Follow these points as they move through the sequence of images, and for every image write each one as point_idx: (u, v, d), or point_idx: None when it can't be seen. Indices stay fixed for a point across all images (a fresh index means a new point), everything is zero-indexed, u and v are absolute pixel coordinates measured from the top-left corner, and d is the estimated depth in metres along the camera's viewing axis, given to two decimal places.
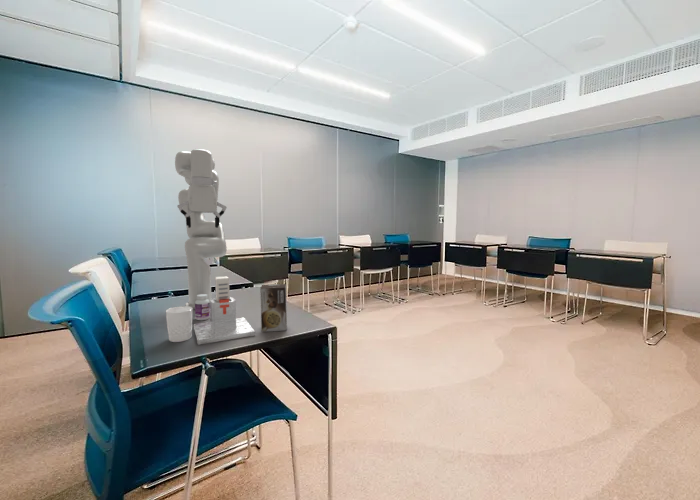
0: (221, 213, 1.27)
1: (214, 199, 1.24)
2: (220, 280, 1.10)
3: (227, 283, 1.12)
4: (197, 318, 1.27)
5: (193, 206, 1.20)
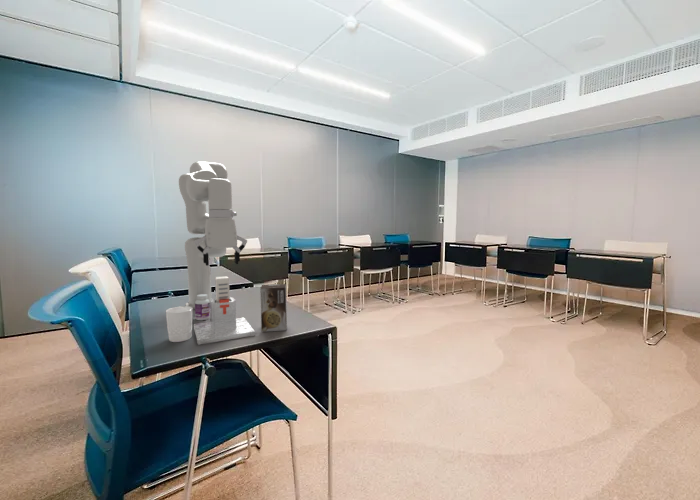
0: (241, 247, 1.14)
1: (234, 233, 1.11)
2: (220, 280, 1.10)
3: (227, 283, 1.12)
4: (197, 318, 1.27)
5: (211, 242, 1.08)
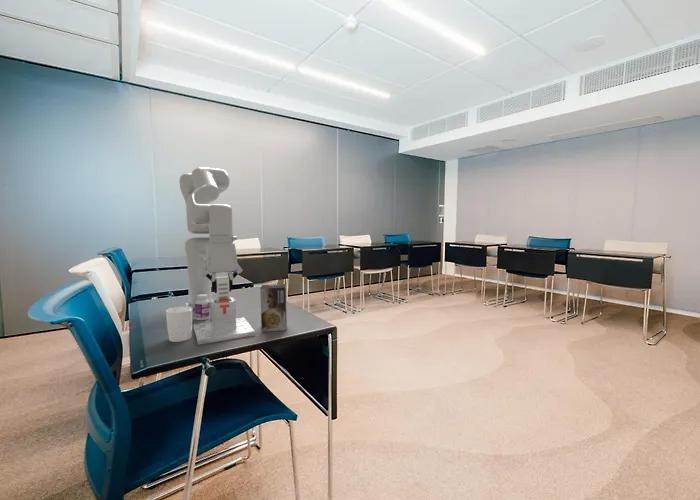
0: (234, 275, 1.14)
1: (234, 257, 1.12)
2: (220, 280, 1.10)
3: (227, 283, 1.12)
4: (197, 318, 1.27)
5: (212, 267, 1.09)
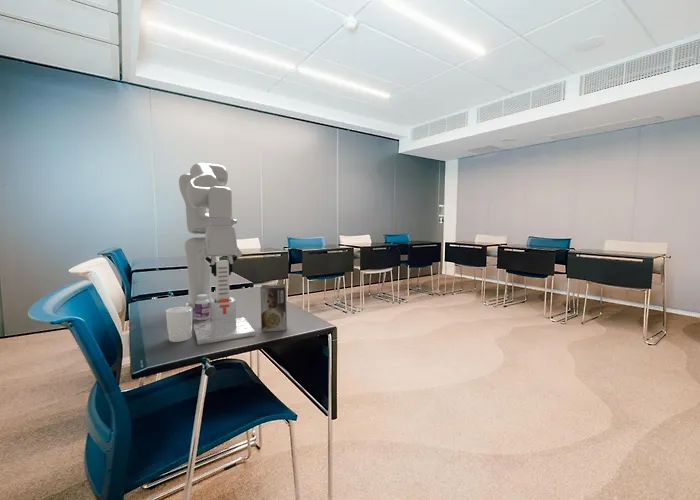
0: (234, 259, 1.13)
1: (234, 241, 1.12)
2: (220, 263, 1.10)
3: (227, 266, 1.11)
4: (197, 318, 1.27)
5: (211, 250, 1.08)
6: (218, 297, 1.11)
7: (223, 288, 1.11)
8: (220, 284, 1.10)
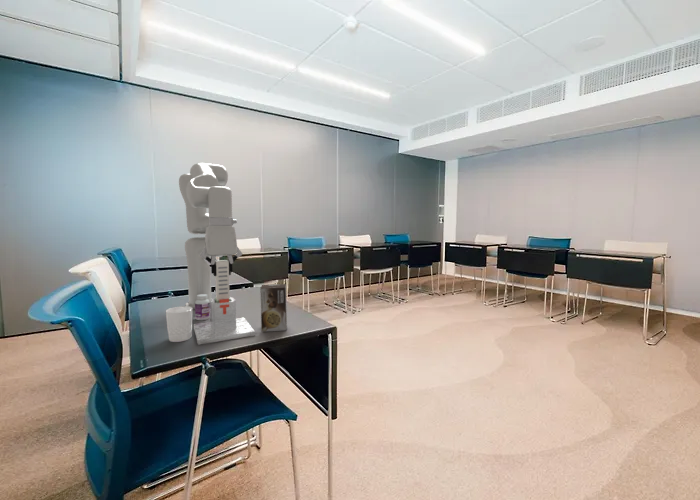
0: (234, 258, 1.13)
1: (234, 240, 1.12)
2: (220, 263, 1.10)
3: (227, 266, 1.11)
4: (197, 318, 1.27)
5: (211, 249, 1.08)
6: (218, 297, 1.11)
7: (223, 288, 1.11)
8: (220, 284, 1.10)
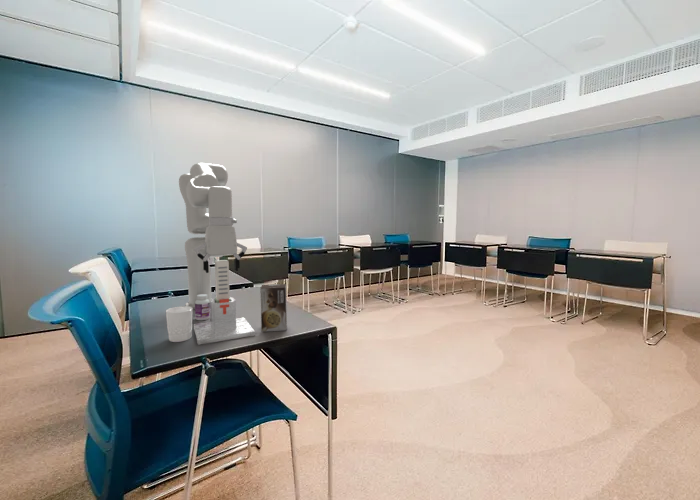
0: (241, 255, 1.14)
1: (234, 240, 1.12)
2: (220, 263, 1.10)
3: (227, 266, 1.11)
4: (197, 318, 1.27)
5: (211, 249, 1.08)
6: (218, 297, 1.11)
7: (223, 288, 1.11)
8: (220, 284, 1.10)
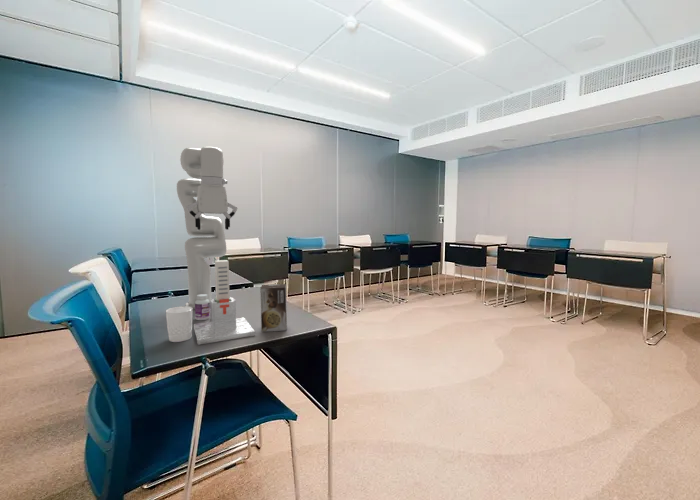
0: (232, 214, 1.21)
1: (225, 200, 1.18)
2: (220, 263, 1.10)
3: (227, 266, 1.11)
4: (197, 318, 1.27)
5: (203, 207, 1.14)
6: (218, 297, 1.11)
7: (223, 288, 1.11)
8: (220, 284, 1.10)
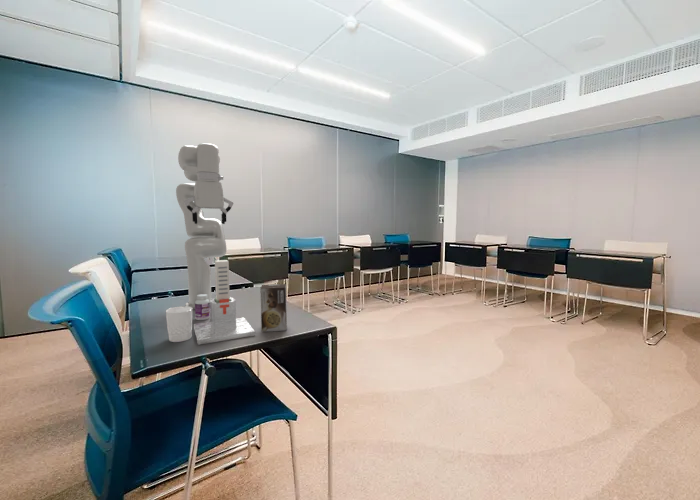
0: (228, 209, 1.24)
1: (221, 195, 1.21)
2: (220, 263, 1.10)
3: (227, 266, 1.11)
4: (197, 318, 1.27)
5: (200, 202, 1.18)
6: (218, 297, 1.11)
7: (223, 288, 1.11)
8: (220, 284, 1.10)
